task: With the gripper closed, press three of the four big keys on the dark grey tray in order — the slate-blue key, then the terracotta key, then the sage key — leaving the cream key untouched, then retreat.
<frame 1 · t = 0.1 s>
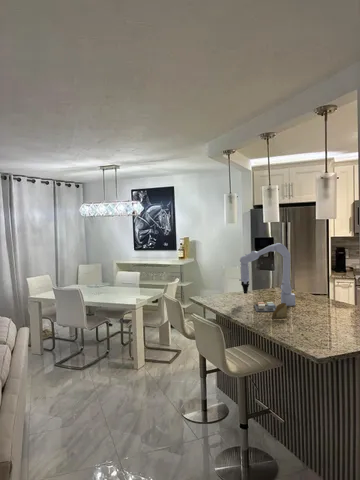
hand: (245, 292, 251), 10 cm above the countertop, fingers open, 7 cm apart
key slate: (271, 306, 235), point 4 cm above the countertop, slide at 0.0 cm
key cream: (261, 306, 236), point 4 cm above the countertop, slide at 0.0 cm
dark grey tray: (266, 310, 239), on the countertop
key sage: (270, 304, 241), point 4 cm above the countertop, slide at 0.0 cm
rock: (279, 318, 218), on the countertop
key terracotta: (260, 304, 242), point 4 cm above the countertop, slide at 0.0 cm
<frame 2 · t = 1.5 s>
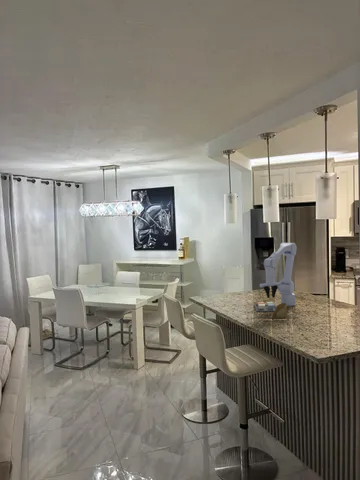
hand: (270, 297, 235), 9 cm above the countertop, fingers open, 3 cm apart
nothing on the countertop moved.
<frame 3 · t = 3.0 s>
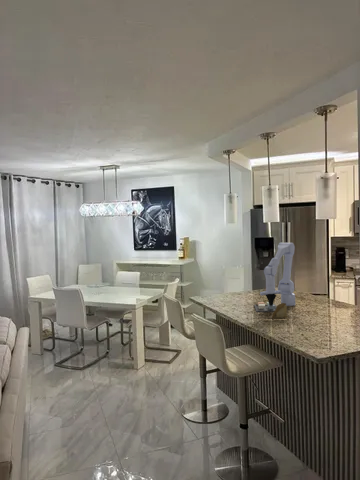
hand: (271, 305, 235), 4 cm above the countertop, fingers closed, pressing on key slate
key slate: (271, 306, 235), point 3 cm above the countertop, slide at 0.4 cm, touching gripper
everything else where it was.
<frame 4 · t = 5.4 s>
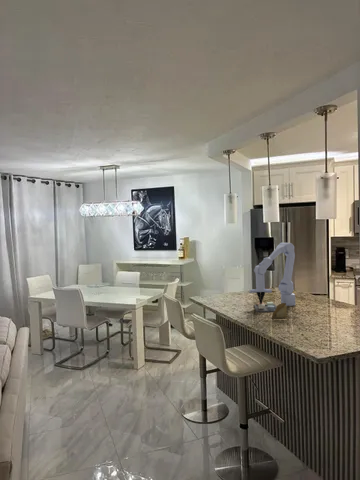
hand: (260, 303, 242), 4 cm above the countertop, fingers closed, pressing on key terracotta
key slate: (271, 307, 235), point 3 cm above the countertop, slide at 1.0 cm
key terracotta: (260, 304, 242), point 3 cm above the countertop, slide at 0.3 cm, touching gripper
everything else where it was.
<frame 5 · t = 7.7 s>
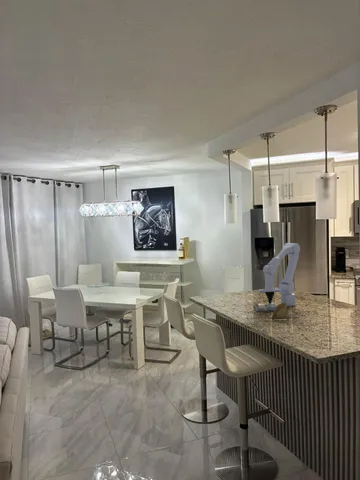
hand: (270, 303, 241), 4 cm above the countertop, fingers closed, pressing on key sage
key sage: (270, 304, 241), point 3 cm above the countertop, slide at 0.2 cm, touching gripper
key terracotta: (261, 305, 242), point 3 cm above the countertop, slide at 1.0 cm
everything else where it was.
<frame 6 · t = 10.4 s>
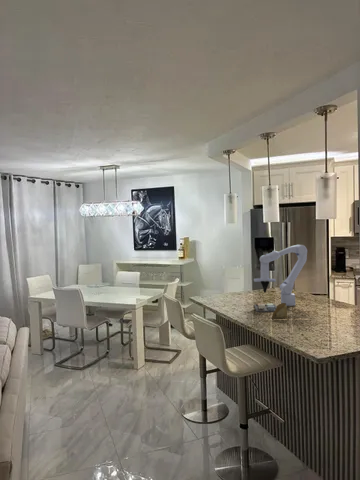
hand: (264, 292, 248), 10 cm above the countertop, fingers closed
key sage: (270, 305, 241), point 3 cm above the countertop, slide at 1.0 cm
everything else where it was.
at the end: key slate slide at 1.0 cm; key sage slide at 1.0 cm; key cream slide at 0.0 cm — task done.
